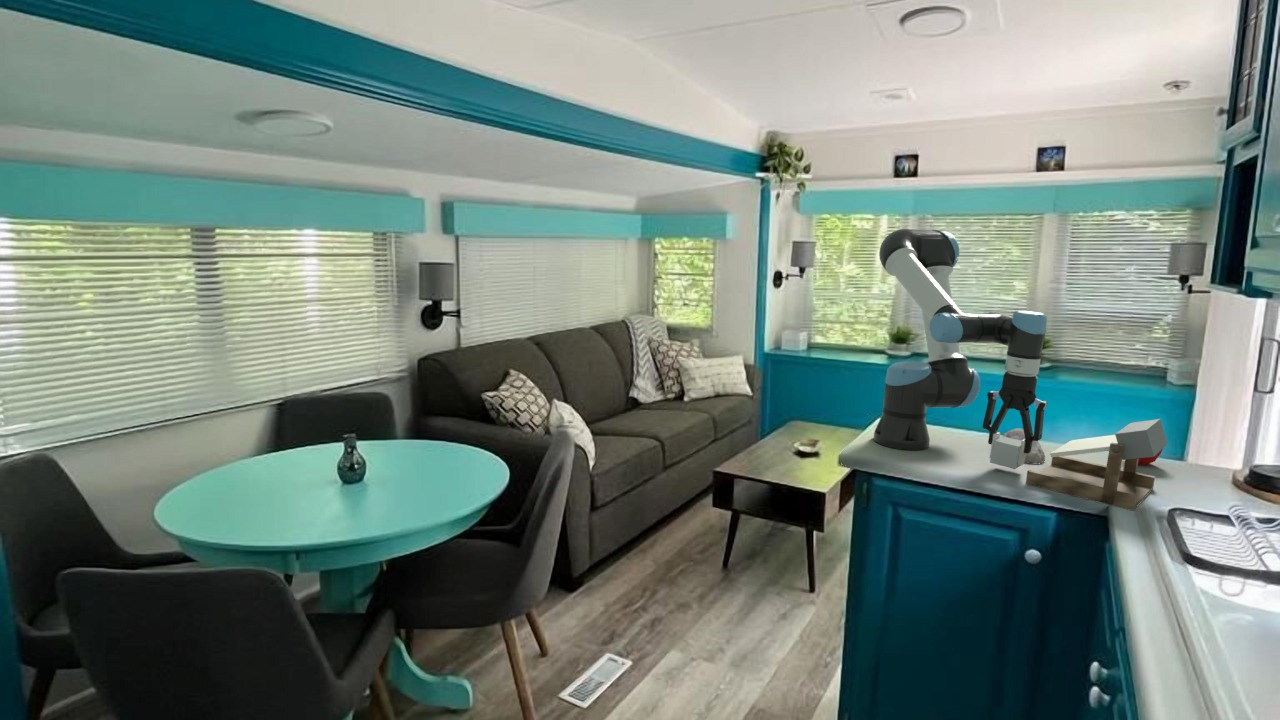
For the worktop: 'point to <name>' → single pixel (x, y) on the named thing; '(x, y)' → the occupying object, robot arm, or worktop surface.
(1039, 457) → the stone
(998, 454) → the granite block
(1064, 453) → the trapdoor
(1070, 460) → the wooden trebuchet model
